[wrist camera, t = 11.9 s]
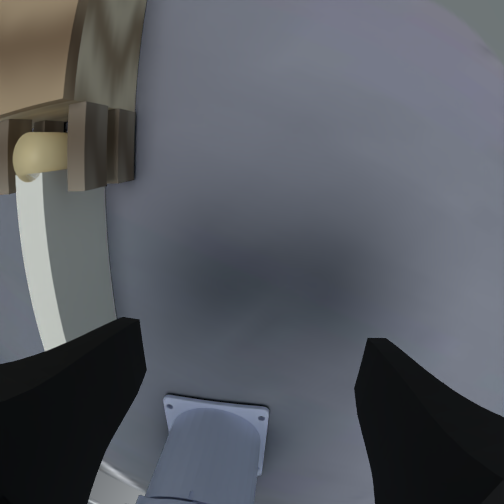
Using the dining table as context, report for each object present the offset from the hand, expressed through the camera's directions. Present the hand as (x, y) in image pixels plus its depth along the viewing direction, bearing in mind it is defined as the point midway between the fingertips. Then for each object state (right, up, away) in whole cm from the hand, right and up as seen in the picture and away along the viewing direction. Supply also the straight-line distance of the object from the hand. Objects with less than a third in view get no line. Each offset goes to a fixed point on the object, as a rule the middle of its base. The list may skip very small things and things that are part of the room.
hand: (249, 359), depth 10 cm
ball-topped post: (-10, +2, +10) cm, 15 cm away
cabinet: (-15, +14, +7) cm, 21 cm away
